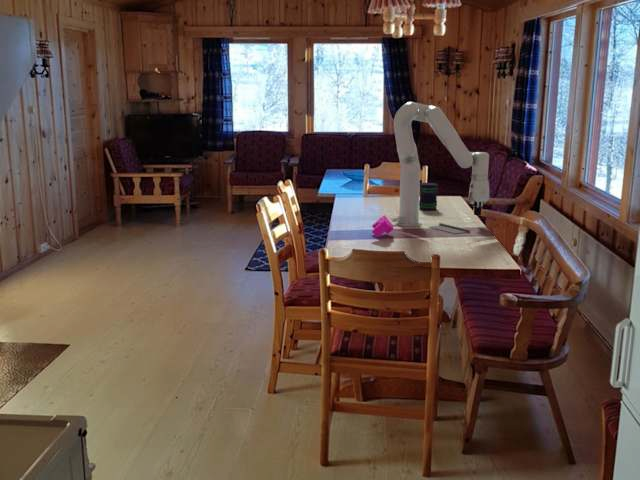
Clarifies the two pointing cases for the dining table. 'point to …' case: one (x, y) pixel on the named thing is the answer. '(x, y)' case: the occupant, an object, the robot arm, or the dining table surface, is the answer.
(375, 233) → the toy block
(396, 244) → the dining table surface
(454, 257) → the dining table surface
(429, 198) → the storage jar
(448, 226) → the stop rail
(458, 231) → the felt mat
